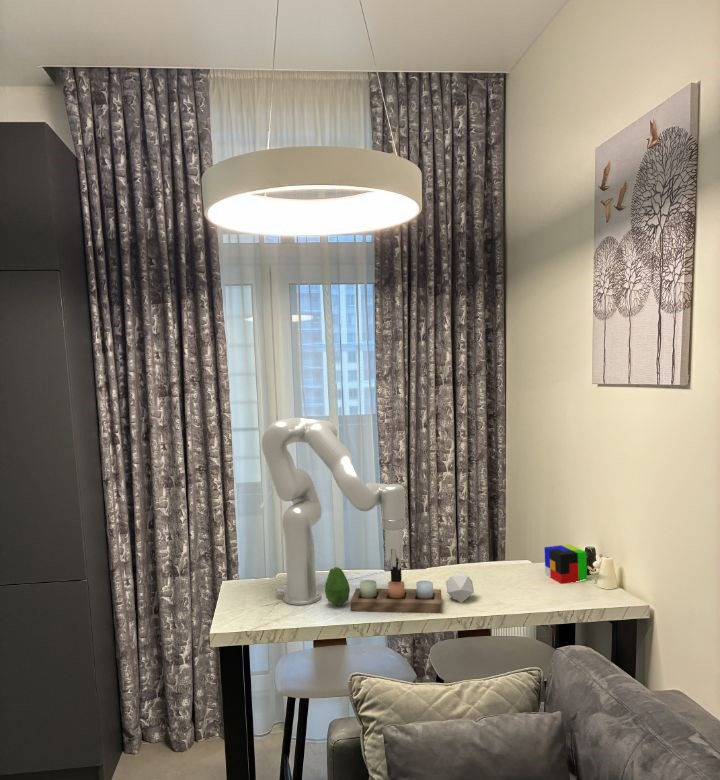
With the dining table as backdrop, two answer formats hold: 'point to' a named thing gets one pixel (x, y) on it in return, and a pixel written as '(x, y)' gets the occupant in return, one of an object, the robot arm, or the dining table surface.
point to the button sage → (368, 589)
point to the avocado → (337, 587)
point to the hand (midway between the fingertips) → (396, 580)
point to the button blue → (424, 589)
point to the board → (396, 602)
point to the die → (459, 586)
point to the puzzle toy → (565, 563)
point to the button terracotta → (396, 589)
